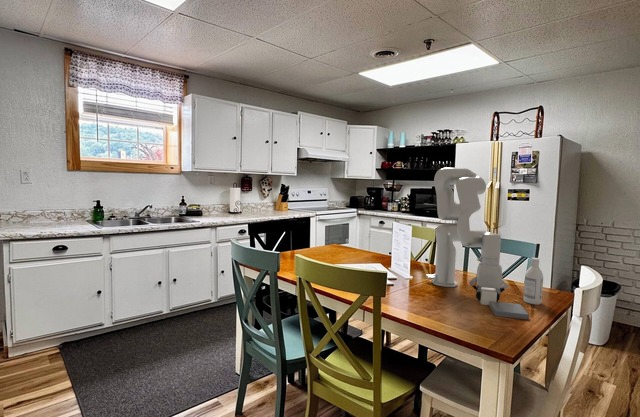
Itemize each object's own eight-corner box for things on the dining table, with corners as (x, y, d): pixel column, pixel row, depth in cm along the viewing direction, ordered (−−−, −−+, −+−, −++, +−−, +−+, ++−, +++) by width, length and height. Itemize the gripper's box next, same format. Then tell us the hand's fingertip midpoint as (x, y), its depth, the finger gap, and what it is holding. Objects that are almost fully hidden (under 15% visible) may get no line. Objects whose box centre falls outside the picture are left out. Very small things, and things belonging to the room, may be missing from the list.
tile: (495, 315, 143) (495, 311, 143) (489, 305, 155) (489, 301, 155) (528, 319, 140) (529, 314, 140) (519, 308, 152) (520, 304, 152)
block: (481, 304, 157) (482, 291, 156) (478, 299, 162) (479, 287, 162) (496, 305, 155) (497, 292, 155) (493, 301, 161) (493, 288, 160)
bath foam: (535, 299, 164) (538, 256, 162) (544, 305, 157) (548, 260, 155) (520, 299, 164) (523, 256, 162) (528, 304, 157) (532, 260, 155)
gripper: (470, 261, 156) (467, 301, 157) (514, 264, 151) (511, 305, 153) (467, 258, 163) (465, 296, 164) (509, 261, 159) (506, 300, 160)
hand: (487, 300), depth 159 cm, fingers open, 6 cm apart
